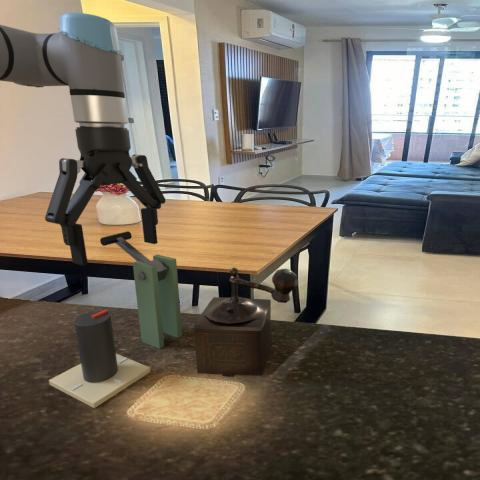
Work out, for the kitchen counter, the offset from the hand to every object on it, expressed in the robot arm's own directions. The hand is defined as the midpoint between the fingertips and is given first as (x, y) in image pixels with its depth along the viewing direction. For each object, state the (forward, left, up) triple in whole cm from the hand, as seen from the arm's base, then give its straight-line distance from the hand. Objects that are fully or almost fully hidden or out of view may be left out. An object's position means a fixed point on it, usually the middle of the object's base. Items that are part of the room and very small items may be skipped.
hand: (118, 252), depth 67 cm
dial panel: (+10, -12, -16) cm, 22 cm away
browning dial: (+10, -12, -14) cm, 21 cm away
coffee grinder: (+26, +3, -16) cm, 31 cm away
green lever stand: (+9, 0, -16) cm, 18 cm away
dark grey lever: (+4, 0, -1) cm, 4 cm away
